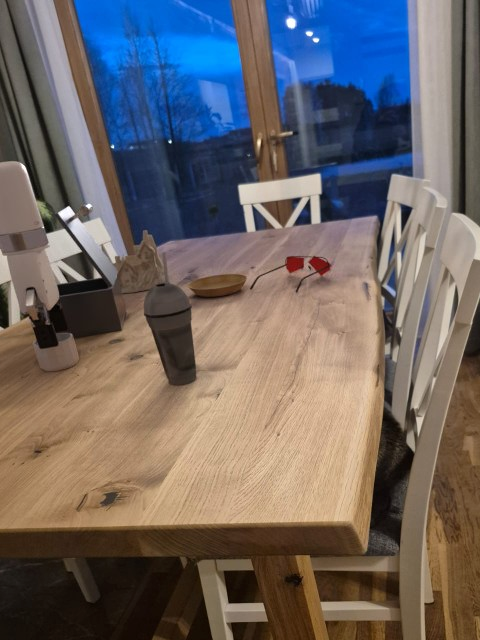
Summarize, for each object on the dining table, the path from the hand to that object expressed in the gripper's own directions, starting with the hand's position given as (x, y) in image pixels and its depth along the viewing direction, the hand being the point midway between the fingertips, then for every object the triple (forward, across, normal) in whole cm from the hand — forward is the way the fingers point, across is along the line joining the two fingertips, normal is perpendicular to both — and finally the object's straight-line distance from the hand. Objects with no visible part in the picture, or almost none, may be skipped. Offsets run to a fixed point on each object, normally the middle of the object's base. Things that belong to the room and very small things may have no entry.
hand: (54, 338), depth 104 cm
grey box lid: (-12, -23, +6) cm, 27 cm away
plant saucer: (+6, -37, +32) cm, 49 cm away
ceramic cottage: (+5, -58, +12) cm, 60 cm away
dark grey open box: (+5, -23, +2) cm, 24 cm away
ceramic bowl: (+5, 0, 0) cm, 5 cm away
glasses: (+6, -34, +50) cm, 60 cm away
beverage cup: (+6, +18, +22) cm, 28 cm away
